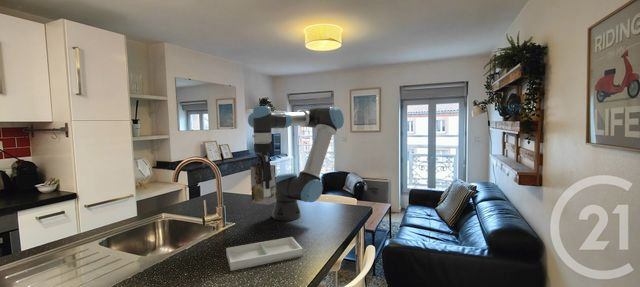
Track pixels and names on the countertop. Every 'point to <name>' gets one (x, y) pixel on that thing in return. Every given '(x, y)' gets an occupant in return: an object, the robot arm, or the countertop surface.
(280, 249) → the cell crate
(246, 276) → the countertop surface
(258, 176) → the coffee box
